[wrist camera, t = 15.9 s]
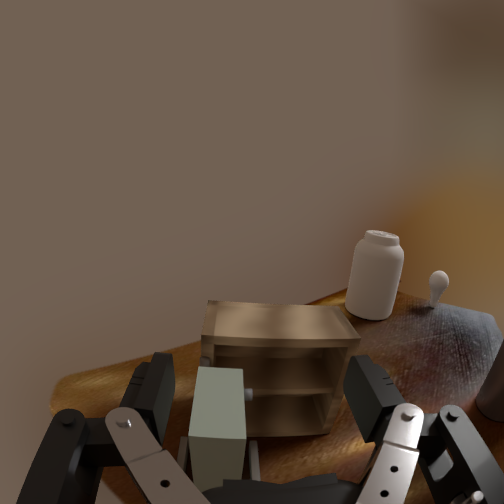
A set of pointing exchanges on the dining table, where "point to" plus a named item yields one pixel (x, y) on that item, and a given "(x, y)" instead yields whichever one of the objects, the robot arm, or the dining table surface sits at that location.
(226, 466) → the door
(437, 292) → the lightbulb
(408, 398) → the dining table surface
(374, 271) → the can
